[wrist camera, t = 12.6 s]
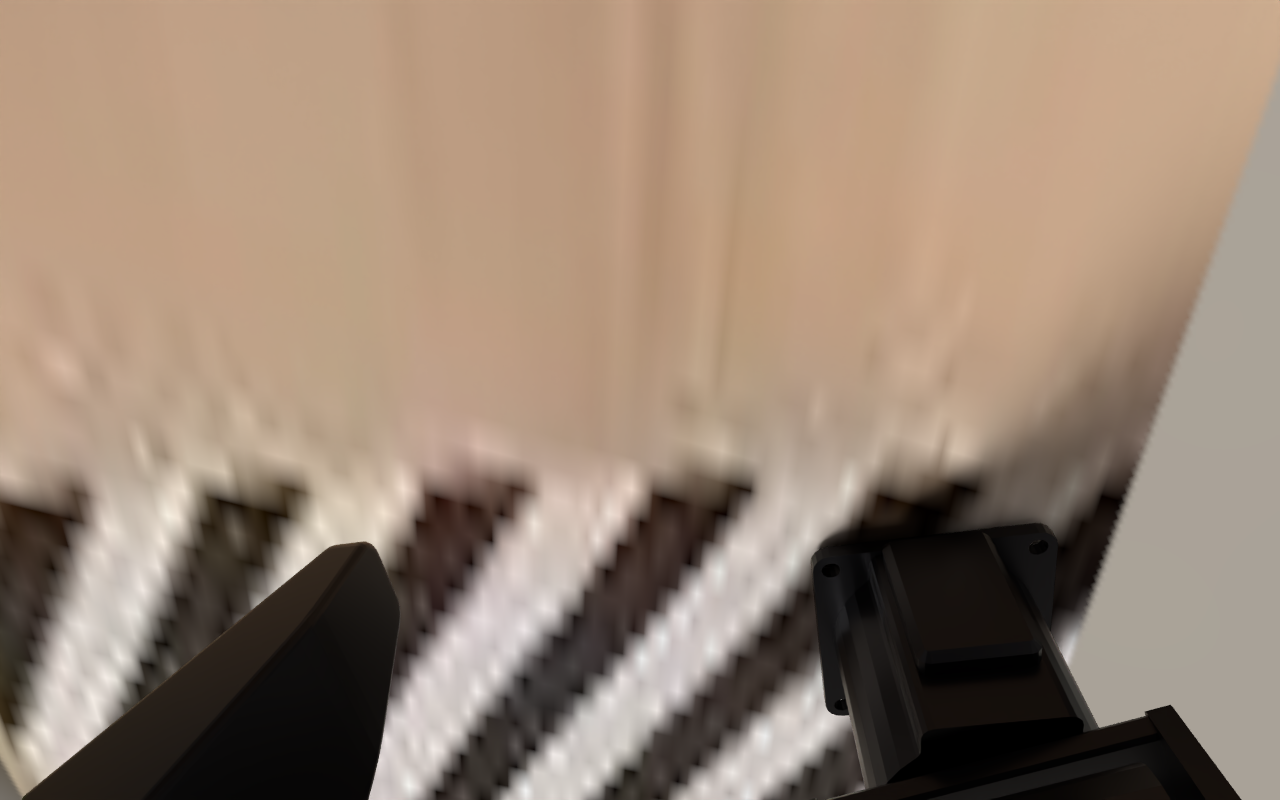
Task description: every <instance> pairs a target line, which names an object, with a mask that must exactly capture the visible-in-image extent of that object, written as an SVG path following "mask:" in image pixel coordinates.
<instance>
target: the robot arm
mask: <svg viewBox="0 0 1280 800" xmlns="http://www.w3.org/2000/svg"><path fill="white" fill-rule="evenodd" d="M1037 540H1041V541H1040V542H1039V543H1037V544H1034V545H1030V544H1031V543H1033V542H1034V541H1037ZM1057 550H1058V543H1057V539H1056V537H1055V536H1054V534H1053V532H1052V530H1051V529H1050V528H1049V527H1048V526H1046V525H1044V524H1041V523H1032V524H1023V525H1015V526H1006V527H997V528H989V529H980V530H971V531H963V532H954V533H945V534H937V535H928V536H919V537H911V538H902V539H893V540H885V541H876V542H867V543H859V544H850V545H841V546H833V547H826V548H822V549H820V550H818V551H817V552H815V553H814V555H813V556H812V558H811V571H812V581H813V591H814V601H815V611H816V620H817V630H818V640H819V650H820V660H821V670H822V680H823V690H824V698H825V703H826V707H827V710H828V711H829V712H830V713H832V714H835V715H841V716H845V715H850V720H851V724H852V729H853V734H854V738H855V743H856V747H857V752H858V757H859V761H860V766H861V771H862V775H863V780H864V784H865V790H861V791H857V792H854V793H850V794H846V795H842V796H838V797H834V798H831V799H827V800H1241V799H1240V797H1239V796H1238V795H1237V793H1236V792H1235V791H1234V789H1233V788H1232V786H1231V785H1230V784H1229V782H1228V781H1227V780H1226V778H1225V777H1224V776H1223V774H1222V773H1221V772H1220V770H1219V769H1218V768H1217V766H1216V765H1215V764H1214V762H1213V761H1212V760H1211V758H1210V757H1209V755H1208V754H1207V753H1206V751H1205V750H1204V749H1203V747H1202V746H1201V745H1200V743H1199V742H1198V741H1197V739H1196V738H1195V737H1194V735H1193V734H1192V732H1191V731H1190V730H1189V728H1188V727H1187V726H1186V725H1185V723H1184V722H1183V720H1182V719H1181V718H1180V716H1179V715H1178V714H1177V712H1176V711H1175V710H1174V708H1173V707H1172V706H1171V705H1168V706H1164V707H1160V708H1157V709H1153V710H1149V711H1146V712H1145V715H1146V716H1144V717H1140V718H1136V719H1132V720H1128V721H1125V722H1121V723H1117V724H1113V725H1109V726H1105V727H1102V728H1099V727H1098V725H1097V723H1096V721H1095V719H1094V717H1093V715H1092V713H1091V711H1090V709H1089V707H1088V706H1087V703H1086V701H1085V699H1084V697H1083V695H1082V693H1081V691H1080V690H1079V687H1078V685H1077V684H1076V681H1075V680H1074V678H1073V676H1072V674H1071V672H1070V670H1069V668H1068V666H1067V664H1066V662H1065V660H1064V658H1063V656H1062V654H1061V652H1060V650H1059V648H1058V646H1057V644H1056V642H1055V640H1054V638H1053V636H1052V634H1051V632H1050V630H1051V619H1052V607H1053V596H1054V585H1055V573H1056V562H1057ZM830 563H831V564H836V565H835V566H833V567H830V568H826V567H824V566H825V565H827V564H830ZM399 625H400V606H399V602H398V598H397V595H396V593H395V591H394V588H393V586H392V584H391V582H390V579H389V577H388V575H387V572H386V570H385V568H384V565H383V563H382V561H381V558H380V556H379V554H378V552H377V550H376V549H375V547H374V546H373V545H372V544H370V543H368V542H356V543H348V544H340V545H334V546H331V547H329V548H328V549H326V550H325V551H324V552H322V553H321V554H320V555H319V556H318V557H316V558H315V559H314V560H313V561H311V562H310V563H309V564H308V565H307V566H305V567H304V568H303V569H302V570H300V571H299V572H298V573H297V574H295V575H294V576H293V577H292V578H291V579H289V580H288V581H287V582H286V583H284V584H283V585H282V586H281V587H280V588H278V589H277V590H276V591H275V592H273V593H272V594H271V595H270V596H269V597H267V598H266V599H265V600H264V601H262V602H261V603H260V604H259V605H257V606H256V607H255V608H254V609H253V610H251V611H250V612H249V613H248V614H246V615H245V616H244V617H243V618H242V619H240V620H239V621H238V622H237V623H235V624H234V625H233V626H232V627H231V628H229V629H228V630H227V631H226V632H224V633H223V634H222V635H221V636H219V637H218V638H217V639H216V640H215V641H213V642H212V643H211V644H210V645H208V646H207V647H206V648H205V649H204V650H202V651H201V652H200V653H199V654H197V655H196V656H195V657H194V658H193V659H191V660H190V661H189V662H188V663H186V664H185V665H184V666H183V667H181V668H180V669H179V670H178V671H177V672H175V673H174V674H173V675H172V676H170V677H169V678H168V679H167V680H166V681H164V682H163V683H162V684H161V685H159V686H158V687H157V688H156V689H155V690H153V691H152V692H151V693H150V694H148V695H147V696H146V697H145V698H143V699H142V700H141V701H140V702H139V703H137V704H136V705H135V706H134V707H132V708H131V709H130V710H129V711H128V712H126V713H125V714H124V715H123V716H121V717H120V718H119V719H118V720H117V721H115V722H114V723H113V724H112V725H110V726H109V727H108V728H107V729H105V730H104V731H103V732H102V733H101V734H99V735H98V736H97V737H96V738H94V739H93V740H92V741H91V742H90V743H88V744H87V745H86V746H85V747H83V748H82V749H81V750H80V751H79V752H77V753H76V754H75V755H74V756H72V757H71V758H70V759H69V760H67V761H66V762H65V763H64V764H63V765H61V766H60V767H59V768H58V769H56V770H55V771H54V772H53V773H52V774H50V775H49V776H48V777H47V778H45V779H44V780H43V781H42V782H41V783H39V784H38V785H37V786H36V787H34V788H33V789H32V790H31V791H29V792H28V793H27V794H26V795H25V796H24V797H23V798H22V800H368V799H369V795H370V791H371V788H372V784H373V780H374V776H375V772H376V767H377V763H378V759H379V754H380V749H381V743H382V738H383V732H384V725H385V719H386V712H387V705H388V699H389V692H390V685H391V679H392V672H393V665H394V659H395V652H396V645H397V639H398V632H399ZM841 699H842V700H841ZM811 800H817V799H816V798H815V799H811Z"/></svg>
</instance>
